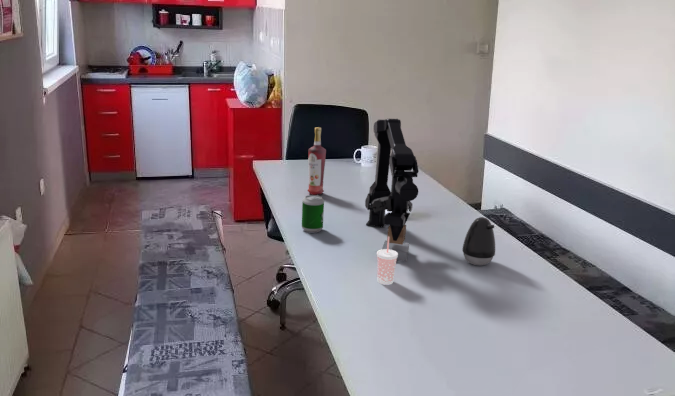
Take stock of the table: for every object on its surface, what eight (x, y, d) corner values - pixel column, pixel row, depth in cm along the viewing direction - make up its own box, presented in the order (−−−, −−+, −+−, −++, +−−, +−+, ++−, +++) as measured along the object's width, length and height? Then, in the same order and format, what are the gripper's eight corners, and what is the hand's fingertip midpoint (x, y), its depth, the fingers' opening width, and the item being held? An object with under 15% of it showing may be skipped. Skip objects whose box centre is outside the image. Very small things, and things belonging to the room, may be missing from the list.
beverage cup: (389, 287, 180) (393, 242, 176) (370, 282, 183) (374, 237, 179) (399, 280, 185) (403, 236, 181) (381, 275, 188) (384, 231, 184)
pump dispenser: (475, 271, 195) (481, 224, 190) (454, 258, 203) (459, 214, 199) (500, 266, 199) (506, 221, 195) (479, 254, 208) (484, 210, 203)
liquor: (327, 193, 266) (330, 127, 257) (317, 197, 260) (320, 130, 251) (313, 190, 269) (315, 125, 261) (303, 194, 263) (305, 127, 255)
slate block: (384, 250, 208) (385, 240, 207) (408, 253, 207) (409, 243, 206) (381, 259, 201) (381, 249, 200) (406, 262, 200) (407, 252, 198)
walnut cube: (389, 237, 205) (391, 222, 204) (405, 239, 204) (406, 224, 203) (386, 242, 201) (388, 227, 199) (402, 244, 200) (403, 229, 198)
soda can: (320, 234, 219) (321, 201, 215) (299, 232, 220) (300, 199, 216) (324, 227, 226) (326, 195, 222) (304, 225, 227) (305, 193, 223)
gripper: (381, 180, 208) (377, 225, 213) (368, 196, 191) (365, 244, 195) (414, 184, 205) (410, 229, 210) (404, 200, 188) (400, 249, 193)
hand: (396, 237), depth 202 cm, fingers closed on walnut cube, 5 cm apart
